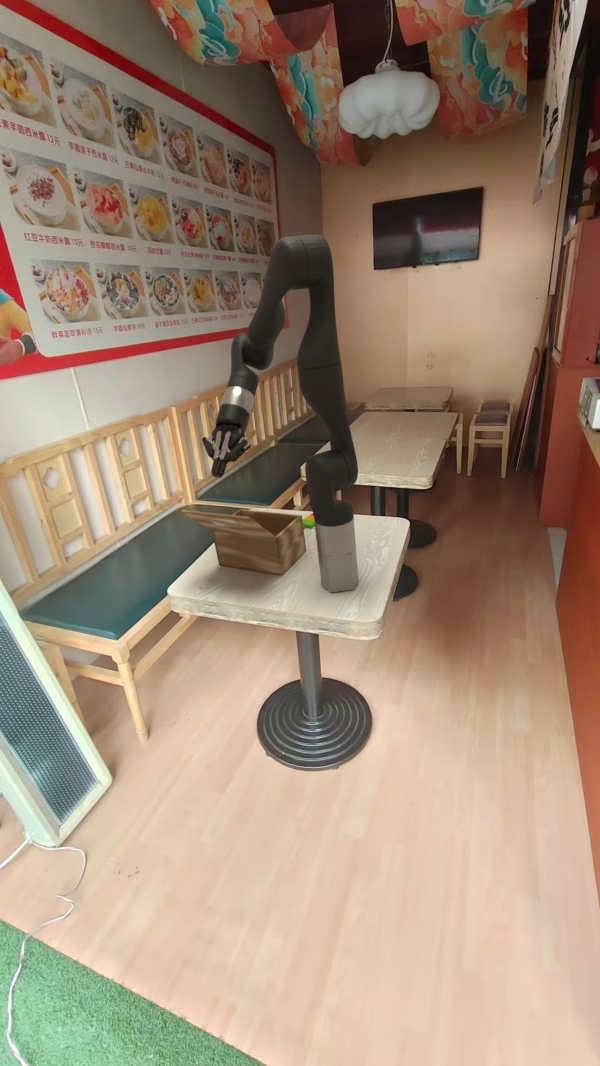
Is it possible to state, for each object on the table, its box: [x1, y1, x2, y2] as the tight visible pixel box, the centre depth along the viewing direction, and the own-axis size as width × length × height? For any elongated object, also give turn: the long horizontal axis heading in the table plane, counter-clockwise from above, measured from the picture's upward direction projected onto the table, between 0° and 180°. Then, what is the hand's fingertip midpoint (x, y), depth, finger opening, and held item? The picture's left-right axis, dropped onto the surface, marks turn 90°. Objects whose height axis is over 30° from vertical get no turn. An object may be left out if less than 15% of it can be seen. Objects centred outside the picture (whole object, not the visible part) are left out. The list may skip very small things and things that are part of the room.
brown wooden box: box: [211, 509, 307, 577], centre depth 141 cm, size 14×20×11 cm
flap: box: [180, 509, 276, 539], centre depth 127 cm, size 14×20×1 cm
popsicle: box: [302, 513, 315, 530], centre depth 160 cm, size 6×15×2 cm, turn 138°
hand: (216, 476), depth 121 cm, fingers closed
